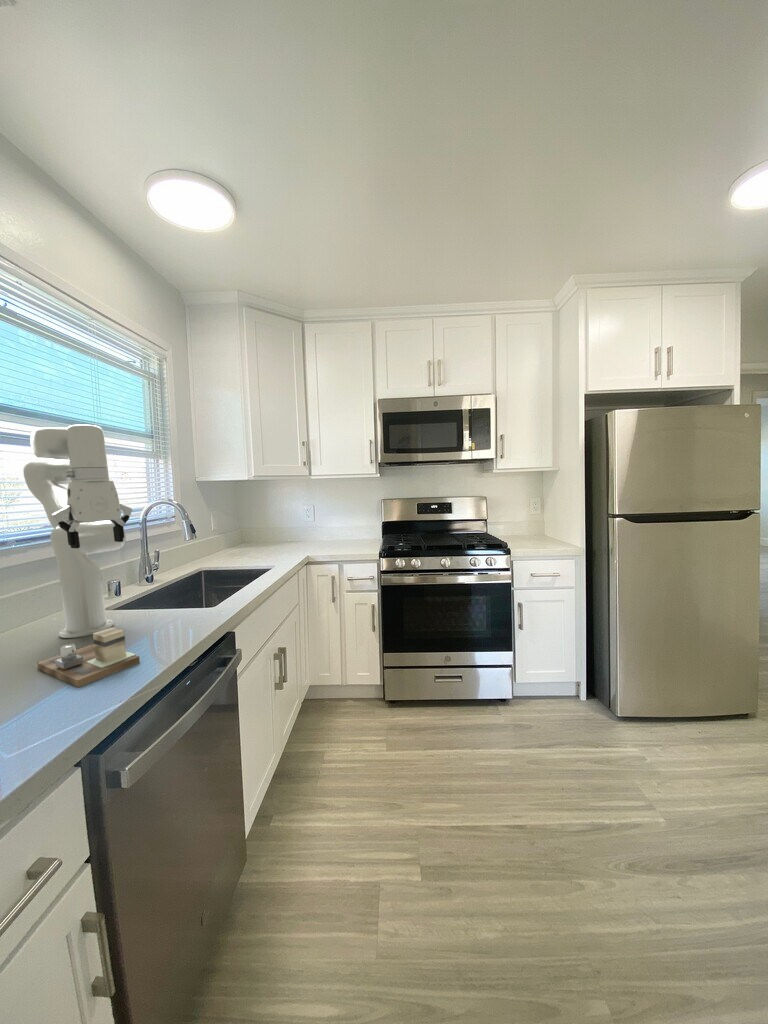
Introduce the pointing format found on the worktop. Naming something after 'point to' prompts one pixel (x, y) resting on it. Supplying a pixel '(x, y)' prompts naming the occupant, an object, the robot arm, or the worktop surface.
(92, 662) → the pad
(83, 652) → the board
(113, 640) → the beige block
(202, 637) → the worktop surface
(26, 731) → the worktop surface
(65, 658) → the silver slider knob
